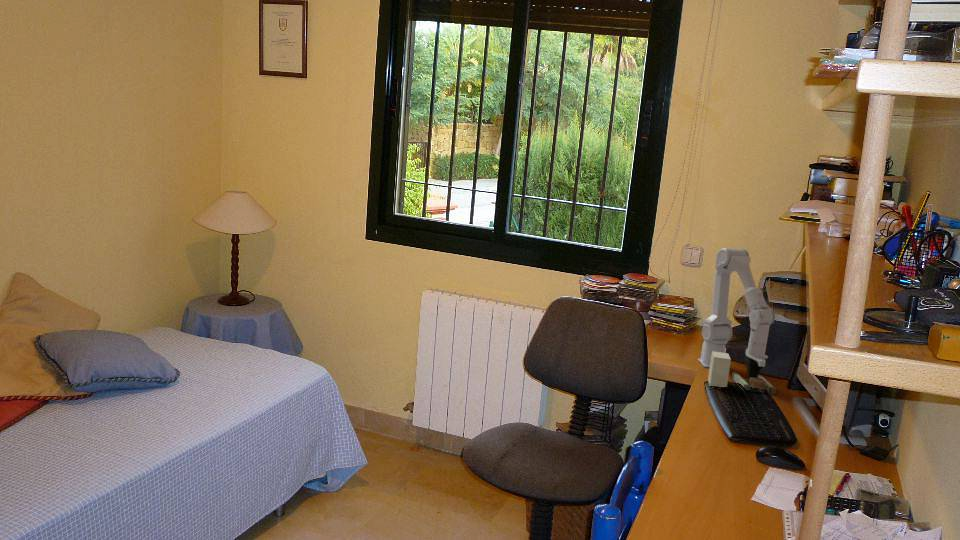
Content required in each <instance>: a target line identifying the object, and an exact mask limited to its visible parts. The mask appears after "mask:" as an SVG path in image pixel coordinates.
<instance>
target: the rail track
mask: <svg viewBox="0 0 960 540" xmlns="http://www.w3.org/2000/svg"><path fill="white" fill-rule="evenodd" d="M757 378H762V379H763V380H764V381H765V382H766V384H765V390H766V392H767V393H768V394H767V395H773V396H774V395H776V393H777V388H776V387H775V386H773V384H771V382H769V381H768V380H767V379H766V378H765V377H764V376H763V375H761V374H758V376H757ZM731 379H732V380H733V381H734V382H735V383H736V384H737V383H739V384H741V385H742V386H743V387H744V388H745V389H746V390H751V389H750V387H751V386H750V385H749V380H748V378H743V377H742V376H741V375H740V374H738V373H737V372H732V373H731Z"/></svg>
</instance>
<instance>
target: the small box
mask: <svg viewBox="0 0 960 540" xmlns="http://www.w3.org/2000/svg"><path fill="white" fill-rule="evenodd" d="M731 362H732V359H731V357H730V354H729V353H727V352H724V353H721V352H714V351H712V355H711V362H710V367H709V370H708V378H707V382H708V385H709V387H710V386H718V387H727V388H728V381H729V377H730V376H729V374H730V369H731Z"/></svg>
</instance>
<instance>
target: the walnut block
mask: <svg viewBox="0 0 960 540" xmlns="http://www.w3.org/2000/svg"><path fill="white" fill-rule="evenodd" d="M748 384H749V385H750V386H751V387H752V388H759V389H763V390H764V391H765V390H766V389H765V384H766V382H765V381H764V380H763V379H762V378H752V377H750V379H749V381H748Z"/></svg>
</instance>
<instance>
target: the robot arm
mask: <svg viewBox="0 0 960 540" xmlns="http://www.w3.org/2000/svg"><path fill="white" fill-rule="evenodd" d="M751 260H752V259H751V256H750V253H749V251H748V250H747V249H746V248H729V247H728V248H727V247H722V248H721V249H719V250H718V251H717V252H716V255H715V269H714V281H713V290H712V291H713V292H712V301H711V302H712V304H711V314H710V315H709V316H708V317H707V318H705V319H704V320H703V321H704V323H703V326H702V329H701V336H702V338H703V343H702V346H701V347H702V348H701V353H700V358H697V360H698V362H699V363H700V364H701V365H702V366H703V367H704V368H710V362H711V355H712V351H714V352H721V353H726V352H725V351H726V344H728V343H729V341H730V340H731V339H732V337H733V328H732V321H731V319H730V318H729V317H728V306H729V295H730V294H729V293H730V281H731V274H733V272H735V273H737V276H738V277H739V279H740V281H741V283H742V285H743V287H744V289H745V291H744V295H743V296H744V298H745V301H746V304H747V306H748V308H749V311H750V313H749V314H748V317H749V319H748V320H749V323H750V324H749V327H750V332H749V339H748V344H747V345H748V346H747V348H745V356H746V357H747V358H744V362H745V366H746V371H747V373H746V374H747V379H748V380H749V379H750V377H752V378H757V376H758V375H760V371H761V370H762V369H763V368H764V367H766V362H767V361H766V359H768V358H769V356H768V355H767V354H766V350H767V343H768V338H769V333H770V332H769V331H770V326H771V325H772V324H773V323H774V322H775V319H776V314H775V311H774V309H773V308H771V307H770V306H769V305H768V304H767V302H766V299H765V297H764V294H763V291H762V290H761V288H759V287H756V283H755V279H754V277H753V274H752V270H751V267H750V264H751Z"/></svg>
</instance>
